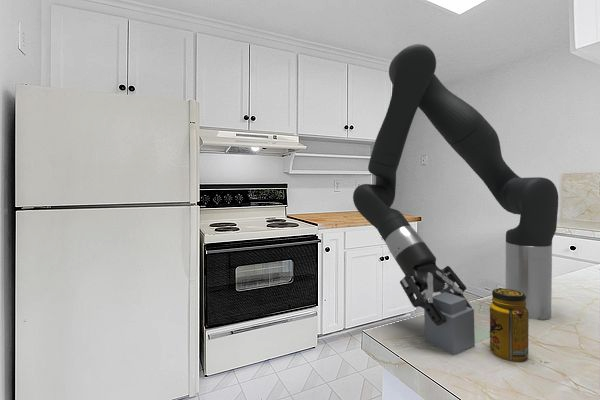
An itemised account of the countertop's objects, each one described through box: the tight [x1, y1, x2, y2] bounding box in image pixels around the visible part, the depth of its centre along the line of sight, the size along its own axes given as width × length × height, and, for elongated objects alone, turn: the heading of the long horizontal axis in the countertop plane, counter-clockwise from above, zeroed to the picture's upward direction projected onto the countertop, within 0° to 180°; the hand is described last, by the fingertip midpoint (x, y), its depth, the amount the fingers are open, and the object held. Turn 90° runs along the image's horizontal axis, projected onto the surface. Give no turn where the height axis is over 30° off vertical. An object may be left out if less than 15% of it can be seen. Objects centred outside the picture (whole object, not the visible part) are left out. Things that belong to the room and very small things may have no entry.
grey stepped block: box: [423, 292, 476, 356], centre depth 63 cm, size 6×6×10 cm
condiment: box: [489, 287, 552, 365], centre depth 59 cm, size 7×8×12 cm
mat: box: [474, 324, 490, 344], centre depth 69 cm, size 10×10×1 cm
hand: (456, 318), depth 62 cm, fingers open, 8 cm apart
